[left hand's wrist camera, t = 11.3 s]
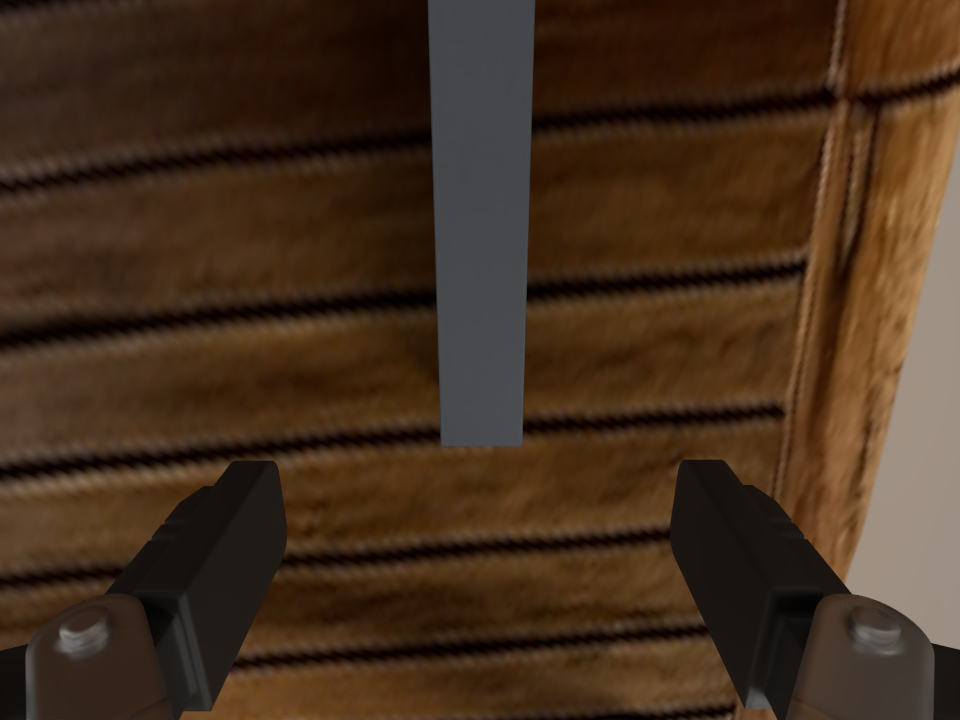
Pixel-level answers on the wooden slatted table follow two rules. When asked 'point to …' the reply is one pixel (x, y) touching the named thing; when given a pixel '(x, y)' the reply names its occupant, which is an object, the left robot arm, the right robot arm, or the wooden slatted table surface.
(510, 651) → the wooden slatted table surface
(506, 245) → the beam
